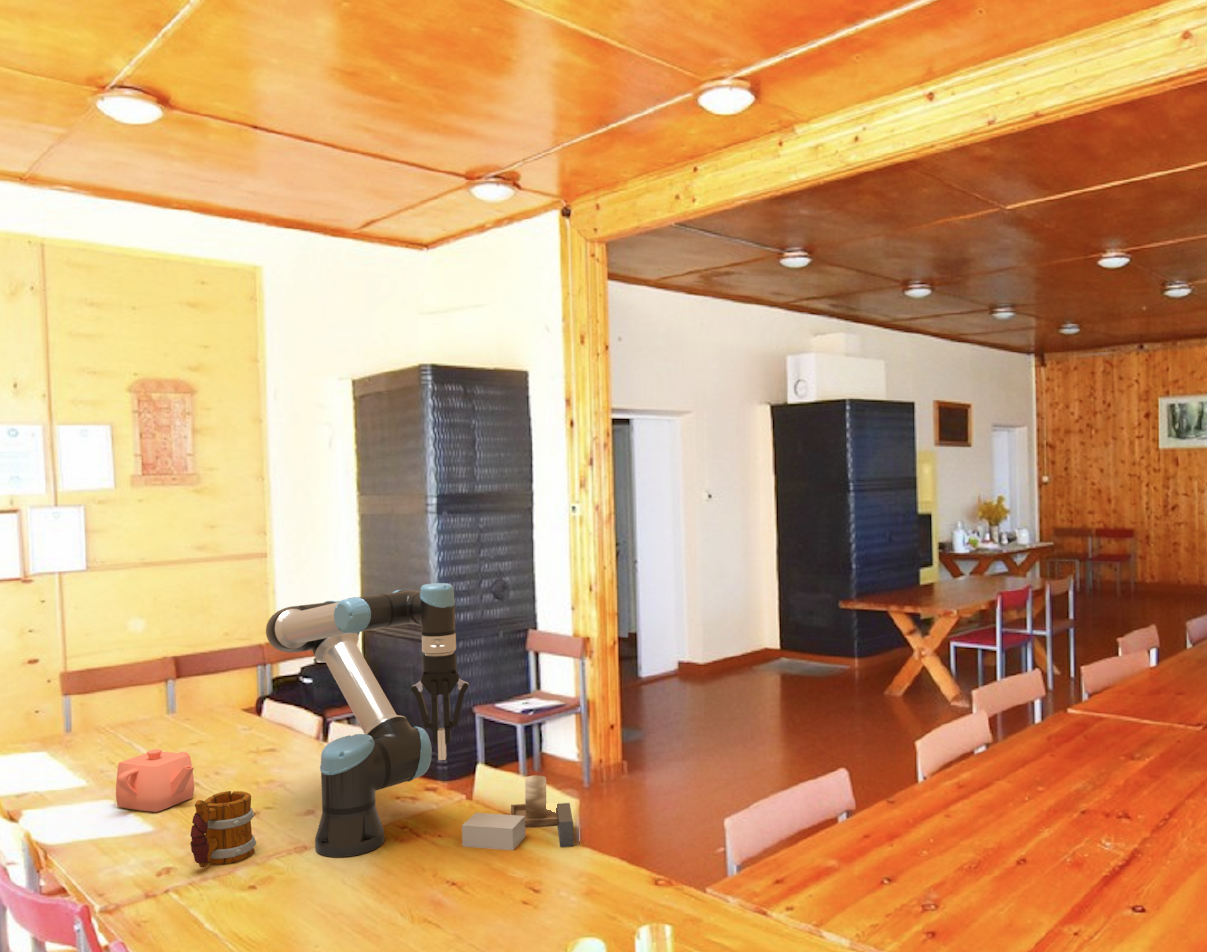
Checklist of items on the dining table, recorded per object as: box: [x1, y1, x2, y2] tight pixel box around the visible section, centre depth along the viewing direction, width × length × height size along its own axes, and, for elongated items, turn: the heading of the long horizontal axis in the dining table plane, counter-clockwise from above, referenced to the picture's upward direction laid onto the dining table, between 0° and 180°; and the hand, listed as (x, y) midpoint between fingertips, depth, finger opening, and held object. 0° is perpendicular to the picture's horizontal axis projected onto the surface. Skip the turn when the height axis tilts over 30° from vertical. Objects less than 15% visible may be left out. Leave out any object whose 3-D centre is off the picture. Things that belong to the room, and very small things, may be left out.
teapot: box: [115, 748, 195, 813], centre depth 244 cm, size 20×22×14 cm
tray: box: [510, 803, 557, 829], centre depth 225 cm, size 12×12×2 cm
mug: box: [190, 790, 257, 868], centre depth 206 cm, size 11×16×15 cm, turn 161°
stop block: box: [557, 802, 575, 848], centre depth 213 cm, size 3×12×6 cm, turn 6°
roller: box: [524, 774, 547, 819], centre depth 225 cm, size 5×5×9 cm
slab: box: [461, 812, 526, 851], centre depth 211 cm, size 12×8×5 cm, turn 75°
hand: (442, 758), depth 210 cm, fingers closed
